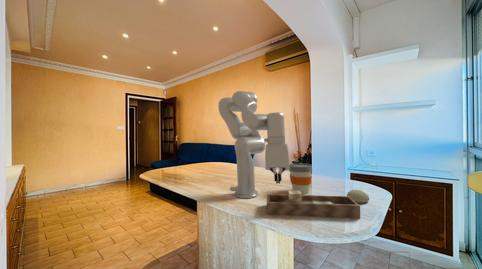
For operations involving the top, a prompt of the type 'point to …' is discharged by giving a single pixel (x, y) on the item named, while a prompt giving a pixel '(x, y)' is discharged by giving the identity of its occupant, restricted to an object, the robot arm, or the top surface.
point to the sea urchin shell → (358, 196)
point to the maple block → (295, 196)
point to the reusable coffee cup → (301, 177)
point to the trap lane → (313, 206)
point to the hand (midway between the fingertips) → (278, 182)
